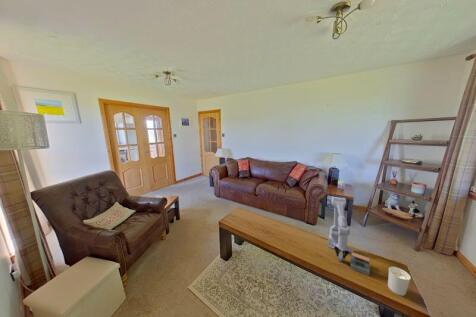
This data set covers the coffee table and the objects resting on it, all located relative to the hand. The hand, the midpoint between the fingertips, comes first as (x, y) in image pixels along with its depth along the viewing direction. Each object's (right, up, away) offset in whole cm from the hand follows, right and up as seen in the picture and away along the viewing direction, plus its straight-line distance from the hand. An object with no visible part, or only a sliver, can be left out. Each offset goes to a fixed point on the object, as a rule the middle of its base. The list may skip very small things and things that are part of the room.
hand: (340, 257), depth 126 cm
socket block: (+10, -4, -6) cm, 12 cm away
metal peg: (0, -2, 0) cm, 2 cm away
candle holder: (+21, -7, -23) cm, 32 cm away
